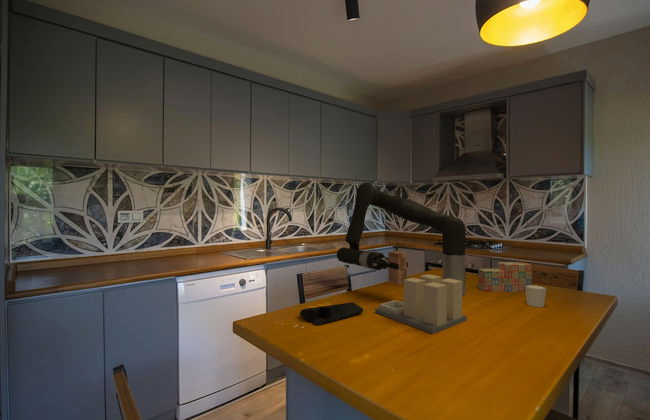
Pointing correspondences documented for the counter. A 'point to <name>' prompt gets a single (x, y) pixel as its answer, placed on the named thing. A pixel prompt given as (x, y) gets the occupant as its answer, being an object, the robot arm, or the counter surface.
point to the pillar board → (427, 304)
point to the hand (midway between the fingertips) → (402, 265)
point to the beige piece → (535, 295)
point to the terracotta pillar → (399, 274)
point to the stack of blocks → (506, 277)
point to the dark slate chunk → (330, 313)
